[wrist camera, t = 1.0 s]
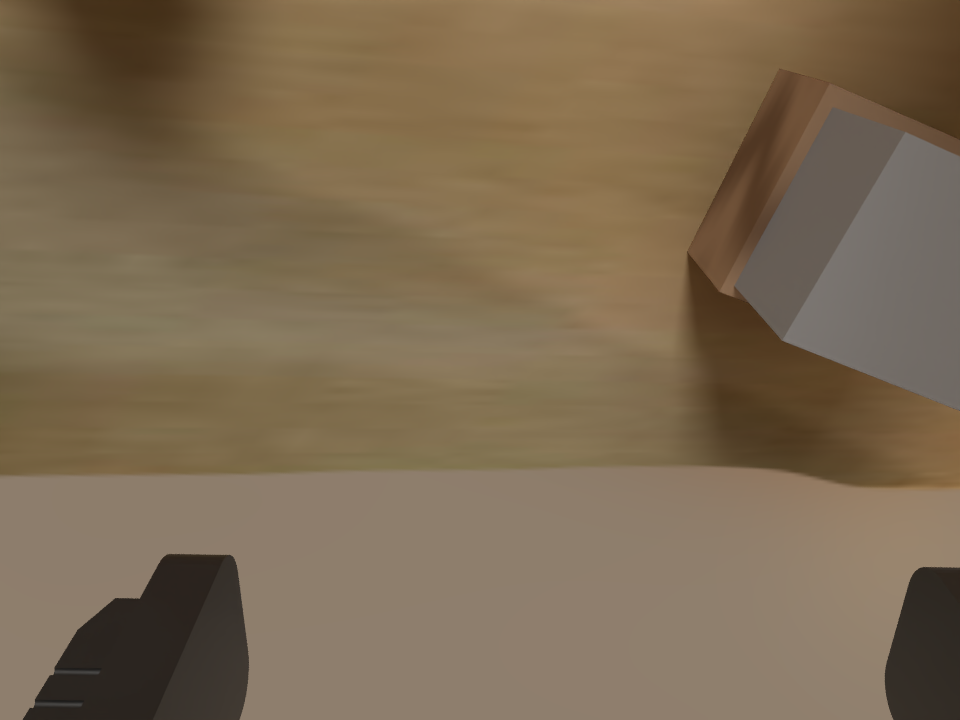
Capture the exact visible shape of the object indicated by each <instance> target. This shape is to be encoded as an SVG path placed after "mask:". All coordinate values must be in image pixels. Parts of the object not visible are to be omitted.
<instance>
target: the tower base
mask: <svg viewBox="0 0 960 720" xmlns="http://www.w3.org/2000/svg"><path fill="white" fill-rule="evenodd" d="M833 107H834V108H837V109H840V110H843V111H846V112H849V113H851V114H854V115H857V116H860V117H863V118H866V119H869V120H872V121H875V122H878V123H881V124H884V125H887V126H889V127H892V128H895V129H898V130H901V131H904V132H907V133H909V134H911V135H913V136H916V137H918V138H920V139H922V140H924V141H927V142H929V143H931V144H933V145H935V146H938V147H940V148H942V149H944V150H946V151H949V152H951V153H953V154H955V155H958V156H960V140H959V139H957V138H955V137H953V136H950V135H948V134H946V133H943V132H941V131H939V130H937V129H934V128H932V127H930V126H927V125H925V124H923V123H921V122H918V121H916V120H914V119H911V118H909V117H907V116H905V115H902V114H900V113H898V112H895V111H893V110H891V109H889V108H886V107H884V106H882V105H879V104H877V103H875V102H873V101H870V100H868V99H866V98H863V97H861V96H859V95H857V94H854V93H852V92H850V91H847V90H845V89H843V88H841V87H838V86H836V85H834V84H831V83H828V82H825V81H821V80H818V79H814V78H811V77H807V76H803V75H800V74H796V73H793V72H789V71H785V70H782V69H779V71H778V73H777V75H776V77H775V79H774V81H773V83H772V85H771V87H770V89H769V91H768V93H767V95H766V97H765V99H764V101H763V103H762V105H761V107H760V109H759V111H758V113H757V115H756V117H755V118H754V120H753V122H752V124H751V126H750V128H749V130H748V132H747V134H746V136H745V138H744V140H743V142H742V144H741V146H740V148H739V150H738V152H737V154H736V156H735V158H734V160H733V162H732V164H731V166H730V168H729V170H728V172H727V174H726V176H725V178H724V180H723V182H722V184H721V186H720V188H719V190H718V192H717V194H716V196H715V198H714V200H713V202H712V204H711V206H710V208H709V210H708V212H707V214H706V216H705V218H704V220H703V222H702V224H701V226H700V228H699V230H698V232H697V234H696V236H695V238H694V240H693V242H692V244H691V245H690V247H689V249H688V251H687V252H688V253H689V255H690V256H691V257H692V258H693V260H694V261H695V262H696V263H697V265H698V266H699V267H700V268H701V270H702V271H703V272H704V273H705V275H706V276H707V277H708V278H709V280H710V281H711V282H712V283H713V285H714V286H715V287H716V288H717V290H718V291H719V292H721V293H724V294H726V295H729V296H731V297H734V298H737V299H739V300H742V301H744V302H747V303H749V302H748V301H747V300H746V299H745V298H744V296H743V295H742V294H741V293H740V292H739V291H738V290H737V288H736V287H735V286H734V285H735V284H736V282H737V280H738V278H739V276H740V275H741V273H742V271H743V269H744V267H745V265H746V264H747V262H748V260H749V258H750V256H751V255H752V253H753V251H754V249H755V247H756V245H757V244H758V242H759V240H760V238H761V236H762V235H763V233H764V231H765V229H766V227H767V226H768V224H769V222H770V220H771V218H772V216H773V215H774V213H775V211H776V209H777V207H778V206H779V204H780V202H781V200H782V198H783V197H784V195H785V193H786V191H787V189H788V187H789V186H790V184H791V182H792V180H793V178H794V177H795V175H796V173H797V171H798V169H799V168H800V166H801V164H802V162H803V160H804V158H805V157H806V155H807V153H808V151H809V149H810V148H811V146H812V144H813V142H814V140H815V138H816V137H817V135H818V133H819V131H820V129H821V128H822V126H823V124H824V122H825V120H826V119H827V117H828V115H829V113H830V111H831V109H832V108H833Z"/></svg>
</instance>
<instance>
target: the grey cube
mask: <svg viewBox="0 0 960 720" xmlns="http://www.w3.org/2000/svg"><path fill="white" fill-rule="evenodd" d="M734 286H735V287H736V288H737V290H738V291H739V292H740V293H741V294H742V295H743V296H744V298H745V299H746V300H747V301H748V302H749V303H750V304H751V306H752V307H753V308H754V309H755V310H756V311H757V312H758V314H759V315H760V316H761V317H762V318H763V319H764V320H765V322H766V323H767V324H768V325H769V326H770V327H771V329H772V330H773V331H774V332H775V333H776V334H777V335H778V337H779V338H780V339H781V340H782V341H784V342H787V343H789V344H792V345H794V346H797V347H799V348H802V349H804V350H807V351H809V352H812V353H815V354H817V355H820V356H822V357H825V358H827V359H830V360H832V361H835V362H837V363H840V364H842V365H845V366H847V367H850V368H852V369H855V370H858V371H860V372H863V373H865V374H868V375H870V376H873V377H875V378H878V379H880V380H883V381H885V382H888V383H890V384H893V385H895V386H898V387H901V388H903V389H906V390H908V391H911V392H913V393H916V394H918V395H921V396H923V397H926V398H928V399H931V400H933V401H936V402H939V403H941V404H944V405H946V406H949V407H951V408H954V409H956V410H959V411H960V156H958V155H955V154H953V153H951V152H949V151H946V150H944V149H942V148H940V147H938V146H935V145H933V144H931V143H929V142H927V141H924V140H922V139H920V138H918V137H916V136H913V135H911V134H909V133H907V132H904V131H901V130H898V129H895V128H892V127H889V126H887V125H884V124H881V123H878V122H875V121H872V120H869V119H866V118H863V117H860V116H857V115H854V114H851V113H849V112H846V111H843V110H840V109H837V108H834V107H833V108H832V109H831V111H830V113H829V115H828V117H827V119H826V120H825V122H824V124H823V126H822V128H821V129H820V131H819V133H818V135H817V137H816V138H815V140H814V142H813V144H812V146H811V148H810V149H809V151H808V153H807V155H806V157H805V158H804V160H803V162H802V164H801V166H800V168H799V169H798V171H797V173H796V175H795V177H794V178H793V180H792V182H791V184H790V186H789V187H788V189H787V191H786V193H785V195H784V197H783V198H782V200H781V202H780V204H779V206H778V207H777V209H776V211H775V213H774V215H773V216H772V218H771V220H770V222H769V224H768V226H767V227H766V229H765V231H764V233H763V235H762V236H761V238H760V240H759V242H758V244H757V245H756V247H755V249H754V251H753V253H752V255H751V256H750V258H749V260H748V262H747V264H746V265H745V267H744V269H743V271H742V273H741V275H740V276H739V278H738V280H737V282H736V284H735V285H734Z"/></svg>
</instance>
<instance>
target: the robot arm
mask: <svg viewBox="0 0 960 720" xmlns="http://www.w3.org/2000/svg"><path fill="white" fill-rule="evenodd" d="M248 671H249V657H248V647H247V640H246V632H245V624H244V617H243V608H242V601H241V593H240V585H239V578H238V570H237V565H236V562H235V559H234V558H233V556H231V555H191V554H168V555H166V556H165V557H163V558H162V560H161V561H160V563H159V564H158V566H157V569H156V570H155V572H154V574H153V575H152V578H151V579H150V581H149V583H148V585H147V587H146V589H145V590H144V592H143V594H142V596H141V598H140V599H129V598H115V599H114V600H113V601H112V602H110V603H109V604H108V605H107V606H106V607H104V608H103V609H102V610H101V611H100V612H99V613H97V614H96V615H95V616H94V617H93V618H91V619H90V620H89V621H88V622H87V623H85V624H84V625H83V626H82V627H81V628H80V629H78V630H77V632H76V634H75V635H74V637H73V638H72V640H71V642H70V643H69V645H68V647H67V649H66V650H65V651H64V653H63V655H62V656H61V658H60V660H59V661H58V663H57V665H56V666H55V672H54V675H50V676H49V678H48V679H47V681H46V683H45V684H44V686H43V687H42V689H41V691H40V692H39V694H38V696H37V697H36V699H35V705H34V708H30V709H29V710H28V712H27V713H26V715H25V717H24V718H23V720H239V719H240V716H241V713H242V710H243V706H244V702H245V697H246V691H247V684H248ZM885 689H886V696H887V701H888V705H889V709H890V712H891V715H892V717H893V719H894V720H960V568H942V567H938V568H937V567H923V568H919V569H918V570H916V571H915V572H914V574H913V575H912V577H911V579H910V582H909V585H908V589H907V593H906V596H905V600H904V603H903V607H902V610H901V614H900V617H899V621H898V624H897V628H896V631H895V635H894V639H893V642H892V646H891V649H890V653H889V656H888V660H887V664H886V670H885Z"/></svg>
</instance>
